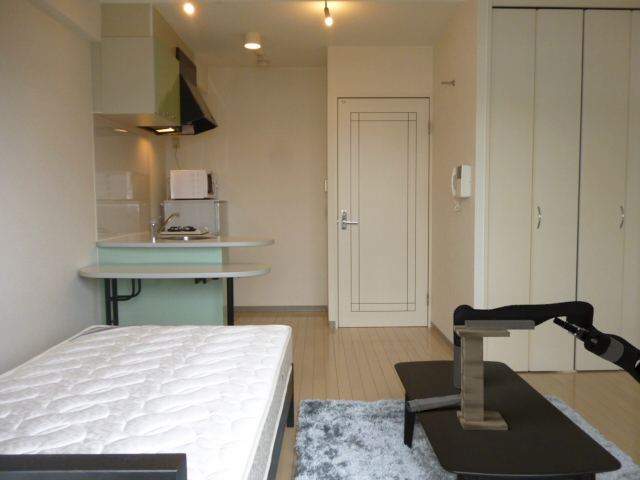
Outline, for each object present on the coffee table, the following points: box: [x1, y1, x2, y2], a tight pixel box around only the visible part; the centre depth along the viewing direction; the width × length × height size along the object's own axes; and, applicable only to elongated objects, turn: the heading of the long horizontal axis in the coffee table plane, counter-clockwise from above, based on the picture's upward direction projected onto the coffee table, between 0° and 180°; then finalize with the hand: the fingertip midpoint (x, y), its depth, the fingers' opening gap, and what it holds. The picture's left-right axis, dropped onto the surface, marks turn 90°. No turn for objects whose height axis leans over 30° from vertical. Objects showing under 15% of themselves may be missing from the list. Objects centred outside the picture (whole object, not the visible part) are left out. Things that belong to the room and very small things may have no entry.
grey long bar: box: [465, 320, 536, 331], centre depth 166 cm, size 3×22×3 cm, turn 85°
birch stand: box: [454, 326, 511, 431], centre depth 167 cm, size 12×16×32 cm
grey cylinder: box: [405, 393, 461, 413], centre depth 179 cm, size 5×7×25 cm
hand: (559, 322), depth 164 cm, fingers open, 8 cm apart
